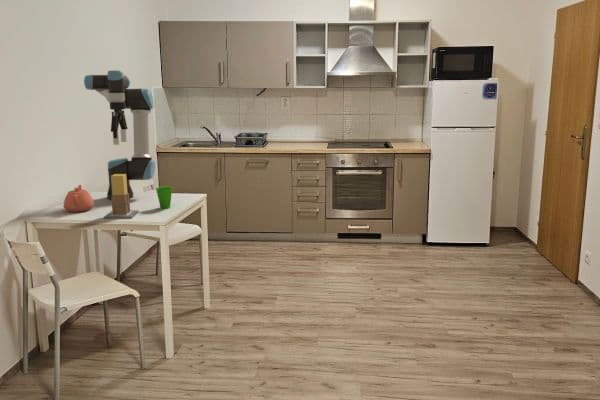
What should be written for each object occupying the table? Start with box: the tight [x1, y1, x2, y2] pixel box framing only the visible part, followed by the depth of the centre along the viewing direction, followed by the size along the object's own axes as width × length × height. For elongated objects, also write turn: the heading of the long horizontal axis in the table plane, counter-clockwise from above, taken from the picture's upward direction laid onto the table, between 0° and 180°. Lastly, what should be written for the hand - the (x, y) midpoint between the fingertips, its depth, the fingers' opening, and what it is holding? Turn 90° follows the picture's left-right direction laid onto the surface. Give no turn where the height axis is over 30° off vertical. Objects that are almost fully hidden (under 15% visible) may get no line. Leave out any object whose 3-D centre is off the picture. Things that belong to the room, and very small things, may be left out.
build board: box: [103, 209, 140, 220], centre depth 284 cm, size 14×14×1 cm
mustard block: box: [111, 174, 128, 195], centre depth 280 cm, size 6×6×10 cm
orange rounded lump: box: [63, 184, 95, 213], centre depth 296 cm, size 22×15×12 cm
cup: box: [155, 186, 173, 210], centre depth 300 cm, size 9×9×11 cm
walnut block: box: [111, 193, 131, 215], centre depth 283 cm, size 7×7×10 cm
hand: (120, 143), depth 283 cm, fingers open, 13 cm apart
